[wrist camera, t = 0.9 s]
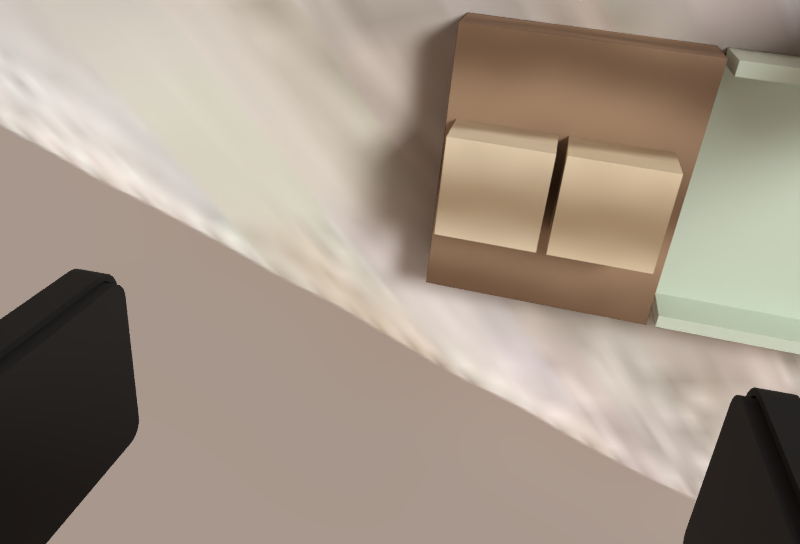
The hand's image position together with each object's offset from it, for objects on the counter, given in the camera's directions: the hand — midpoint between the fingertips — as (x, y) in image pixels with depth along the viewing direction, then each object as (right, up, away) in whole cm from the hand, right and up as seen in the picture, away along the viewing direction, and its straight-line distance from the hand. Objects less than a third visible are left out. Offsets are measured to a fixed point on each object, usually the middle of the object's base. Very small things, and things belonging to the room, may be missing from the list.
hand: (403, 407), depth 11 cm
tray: (+21, +5, +25) cm, 33 cm away
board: (+9, +8, +27) cm, 30 cm away
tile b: (+10, +6, +24) cm, 27 cm away
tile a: (+5, +7, +25) cm, 27 cm away
